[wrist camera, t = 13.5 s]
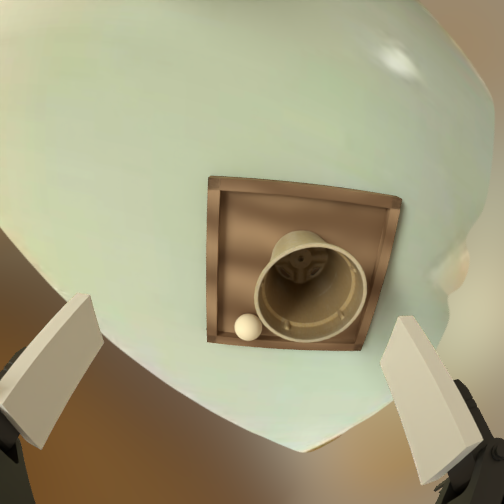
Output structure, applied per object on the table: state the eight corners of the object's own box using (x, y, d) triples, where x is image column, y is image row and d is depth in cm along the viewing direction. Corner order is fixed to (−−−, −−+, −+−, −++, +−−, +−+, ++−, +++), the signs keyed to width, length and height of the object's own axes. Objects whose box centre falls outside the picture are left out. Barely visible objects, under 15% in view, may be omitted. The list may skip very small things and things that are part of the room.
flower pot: (356, 232, 29) (386, 265, 21) (322, 303, 32) (336, 352, 24) (274, 202, 28) (278, 226, 20) (246, 281, 32) (239, 327, 24)
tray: (211, 175, 28) (208, 177, 27) (396, 196, 28) (402, 198, 26) (209, 334, 36) (207, 342, 34) (358, 343, 35) (360, 350, 34)
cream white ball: (236, 307, 33) (233, 323, 30) (263, 309, 33) (263, 325, 30) (235, 328, 34) (232, 344, 31) (261, 330, 34) (260, 347, 31)
